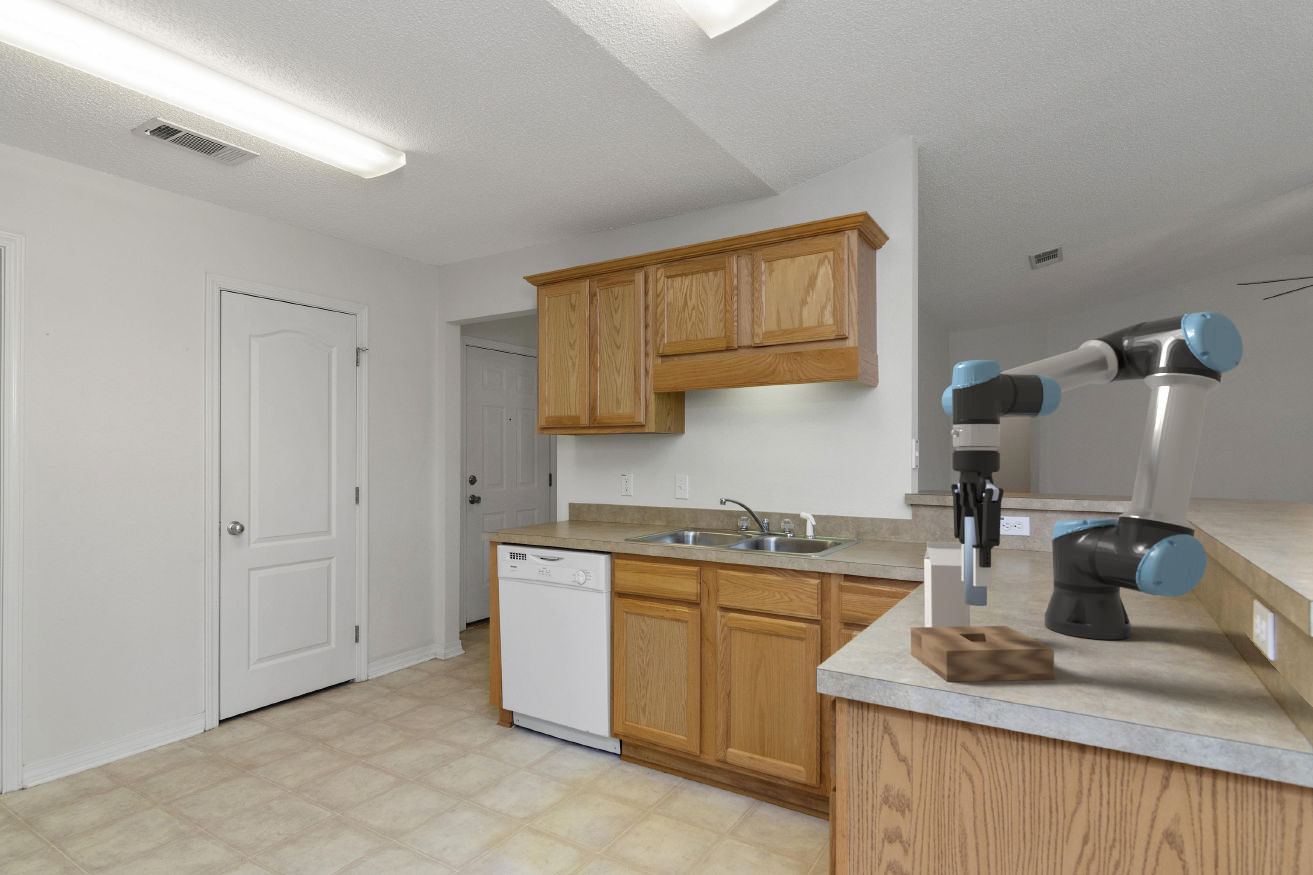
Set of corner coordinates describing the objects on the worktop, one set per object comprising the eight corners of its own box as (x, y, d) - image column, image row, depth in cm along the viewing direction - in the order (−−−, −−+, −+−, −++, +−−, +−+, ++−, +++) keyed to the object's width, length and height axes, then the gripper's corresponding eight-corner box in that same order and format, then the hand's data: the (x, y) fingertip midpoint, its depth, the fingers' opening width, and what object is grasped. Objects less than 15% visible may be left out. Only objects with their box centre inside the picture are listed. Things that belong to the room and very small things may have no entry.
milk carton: (970, 642, 131) (969, 545, 131) (931, 640, 132) (930, 544, 133) (961, 632, 138) (960, 540, 138) (924, 630, 139) (923, 539, 140)
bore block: (1006, 652, 124) (1006, 625, 124) (1054, 679, 110) (1053, 648, 110) (911, 654, 124) (910, 627, 124) (946, 681, 110) (946, 650, 110)
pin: (980, 601, 119) (980, 516, 119) (990, 605, 115) (990, 518, 116) (960, 601, 119) (960, 516, 119) (971, 605, 115) (971, 518, 115)
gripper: (933, 449, 126) (933, 574, 125) (979, 449, 109) (979, 593, 109) (972, 449, 126) (972, 574, 126) (1024, 449, 109) (1024, 593, 109)
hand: (975, 583), depth 117 cm, fingers closed on pin, 3 cm apart
